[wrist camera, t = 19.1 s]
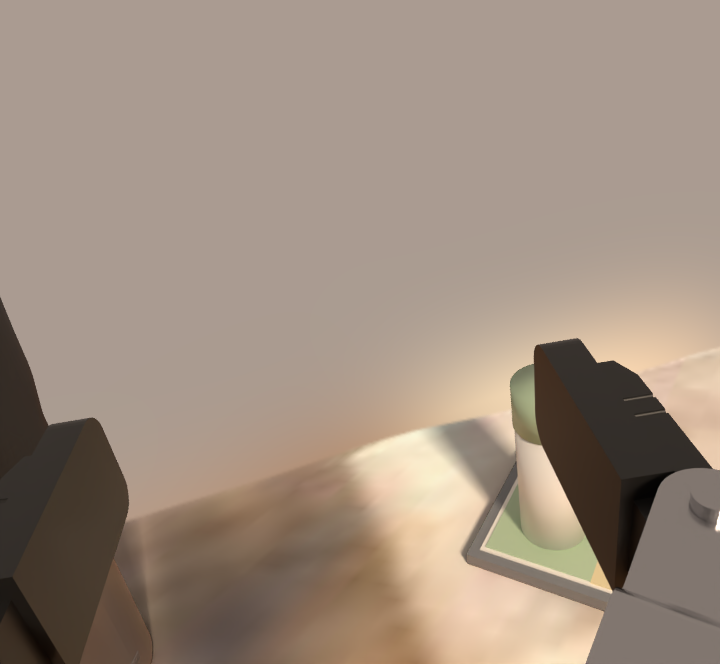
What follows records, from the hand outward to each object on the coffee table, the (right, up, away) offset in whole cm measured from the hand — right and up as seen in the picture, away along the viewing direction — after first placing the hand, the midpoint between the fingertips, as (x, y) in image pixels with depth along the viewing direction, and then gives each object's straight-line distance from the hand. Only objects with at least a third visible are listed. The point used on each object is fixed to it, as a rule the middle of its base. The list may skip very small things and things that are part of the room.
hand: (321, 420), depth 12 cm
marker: (+14, -12, +34) cm, 38 cm away
